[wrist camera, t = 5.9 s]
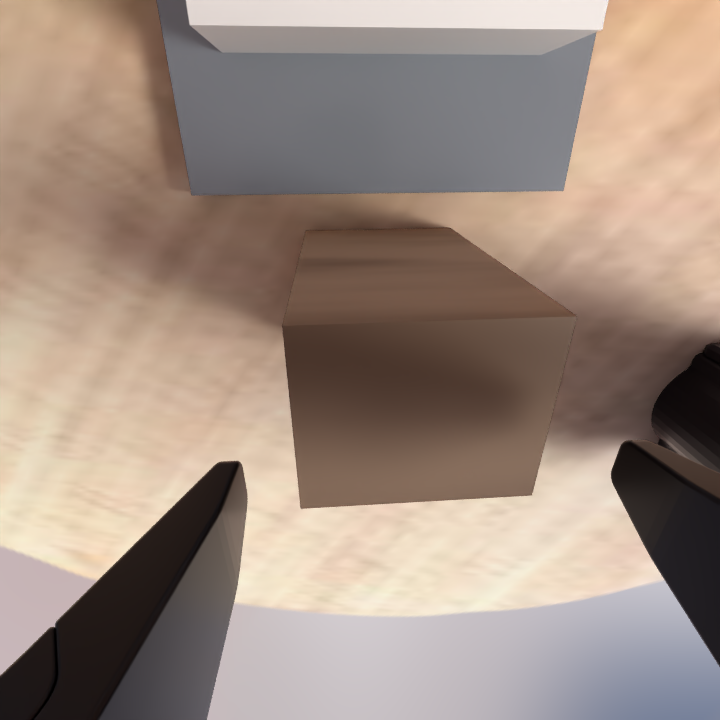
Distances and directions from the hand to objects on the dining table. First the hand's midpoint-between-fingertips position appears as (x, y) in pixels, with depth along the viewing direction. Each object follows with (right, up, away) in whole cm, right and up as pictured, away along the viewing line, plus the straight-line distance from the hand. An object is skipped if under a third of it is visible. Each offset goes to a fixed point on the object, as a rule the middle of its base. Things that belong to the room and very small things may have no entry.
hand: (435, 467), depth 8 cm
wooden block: (-1, +5, +10) cm, 12 cm away
